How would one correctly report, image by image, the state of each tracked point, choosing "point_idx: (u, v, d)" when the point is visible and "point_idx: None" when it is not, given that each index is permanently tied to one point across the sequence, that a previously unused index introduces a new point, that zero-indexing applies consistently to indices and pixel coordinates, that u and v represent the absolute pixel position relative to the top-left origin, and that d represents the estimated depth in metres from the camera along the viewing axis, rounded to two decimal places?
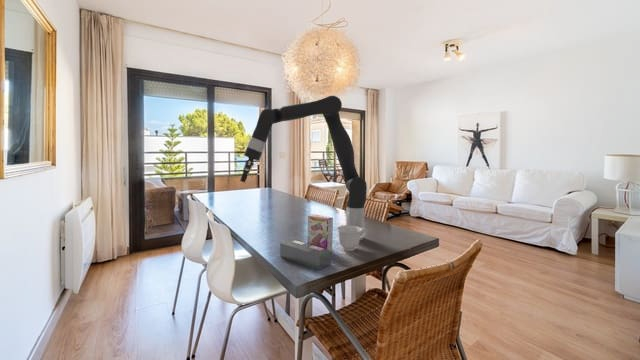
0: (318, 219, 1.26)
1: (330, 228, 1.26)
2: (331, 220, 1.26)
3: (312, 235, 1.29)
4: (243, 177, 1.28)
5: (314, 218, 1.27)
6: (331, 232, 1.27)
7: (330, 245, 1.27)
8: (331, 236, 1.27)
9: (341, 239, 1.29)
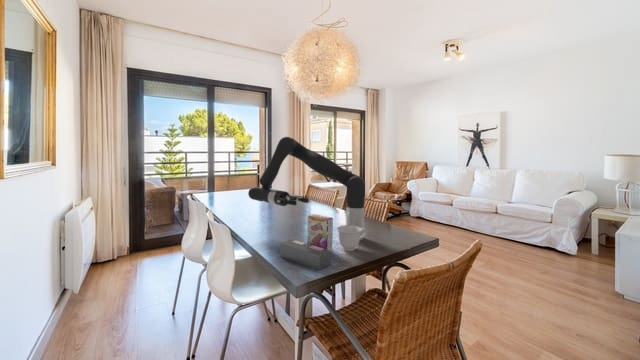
0: (318, 219, 1.26)
1: (330, 228, 1.26)
2: (331, 220, 1.26)
3: (312, 235, 1.29)
4: (291, 203, 1.32)
5: (314, 218, 1.27)
6: (331, 232, 1.27)
7: (330, 245, 1.27)
8: (331, 236, 1.27)
9: (341, 239, 1.29)
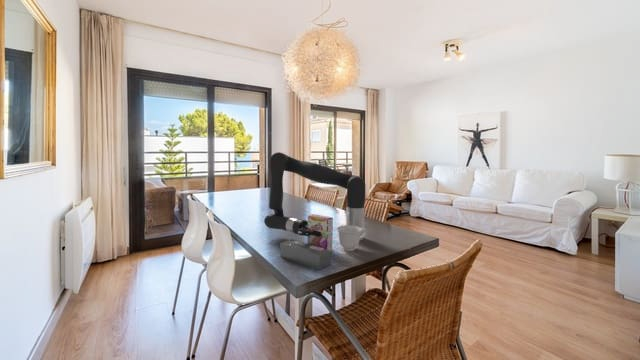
0: (318, 219, 1.26)
1: (330, 228, 1.26)
2: (331, 220, 1.26)
3: None
4: (315, 234, 1.26)
5: (314, 218, 1.27)
6: (331, 232, 1.27)
7: (330, 245, 1.27)
8: (331, 236, 1.27)
9: (341, 239, 1.29)
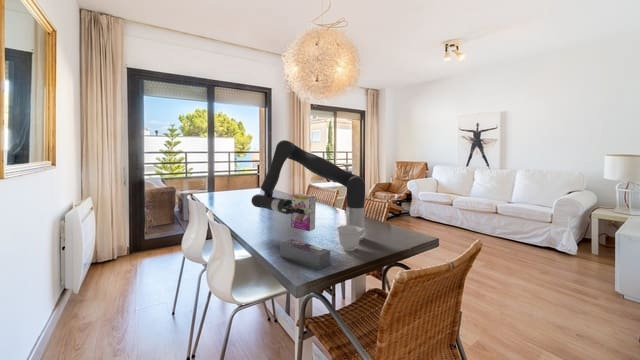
0: (301, 197, 1.31)
1: (313, 206, 1.31)
2: (314, 198, 1.31)
3: (296, 213, 1.34)
4: (298, 212, 1.31)
5: (297, 196, 1.32)
6: (314, 210, 1.32)
7: (312, 222, 1.32)
8: (314, 214, 1.33)
9: (341, 239, 1.29)
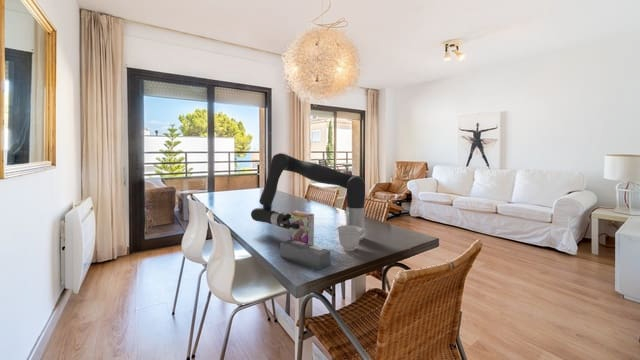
0: (300, 215, 1.33)
1: (311, 224, 1.33)
2: (312, 216, 1.33)
3: (295, 231, 1.35)
4: (294, 227, 1.32)
5: (296, 214, 1.34)
6: (312, 228, 1.34)
7: (311, 240, 1.34)
8: (312, 231, 1.34)
9: (341, 239, 1.29)
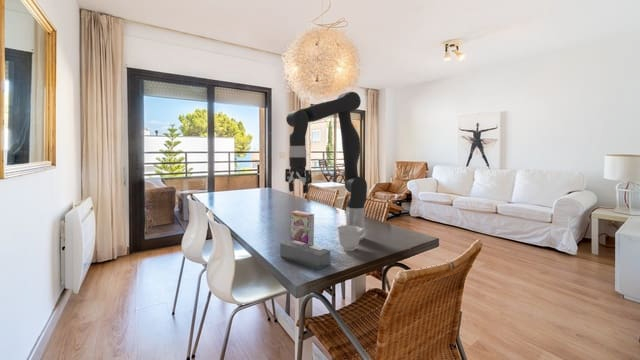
0: (300, 215, 1.33)
1: (311, 224, 1.33)
2: (312, 216, 1.33)
3: (295, 231, 1.35)
4: (306, 188, 1.23)
5: (296, 214, 1.34)
6: (312, 228, 1.34)
7: (311, 240, 1.34)
8: (312, 231, 1.34)
9: (341, 239, 1.29)
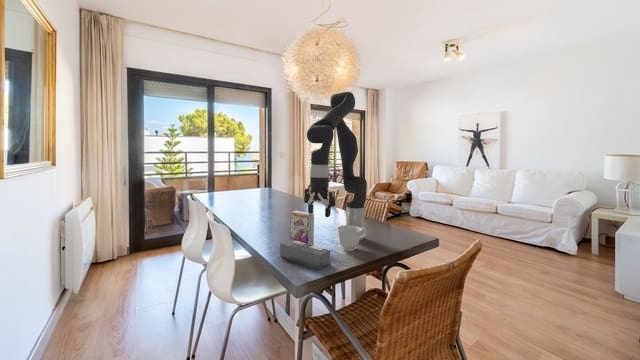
0: (300, 215, 1.33)
1: (311, 224, 1.33)
2: (312, 216, 1.33)
3: (295, 231, 1.35)
4: (329, 212, 1.11)
5: (296, 214, 1.34)
6: (312, 228, 1.34)
7: (311, 240, 1.34)
8: (312, 231, 1.34)
9: (341, 239, 1.29)
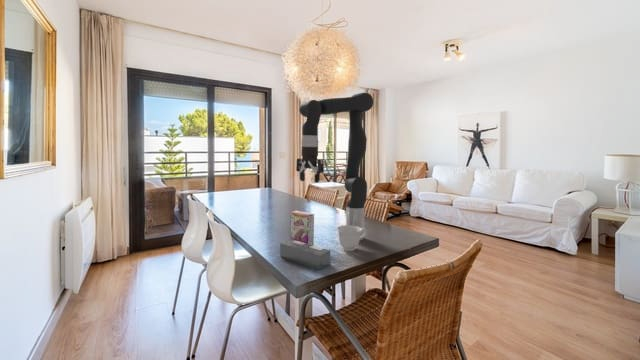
0: (300, 215, 1.33)
1: (311, 224, 1.33)
2: (312, 216, 1.33)
3: (295, 231, 1.35)
4: (318, 177, 1.24)
5: (296, 214, 1.34)
6: (312, 228, 1.34)
7: (311, 240, 1.34)
8: (312, 231, 1.34)
9: (341, 239, 1.29)
